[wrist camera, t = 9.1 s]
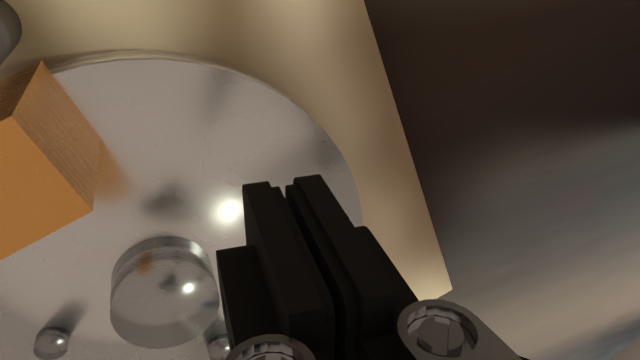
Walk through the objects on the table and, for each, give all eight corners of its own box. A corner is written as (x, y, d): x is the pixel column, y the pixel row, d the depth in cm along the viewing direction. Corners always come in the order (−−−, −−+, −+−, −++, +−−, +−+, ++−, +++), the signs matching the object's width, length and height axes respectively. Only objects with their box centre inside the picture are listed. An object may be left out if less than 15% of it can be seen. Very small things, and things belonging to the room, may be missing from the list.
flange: (-254, 198, 16) (-454, 351, 10) (248, -51, 17) (305, -33, 12) (99, 453, 26) (92, 597, 20) (393, 283, 27) (459, 374, 22)
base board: (288, -180, 18) (351, -216, 13) (435, 269, 32) (493, 336, 27) (-411, 135, 15) (-661, 240, 11) (78, 472, 29) (69, 586, 24)
